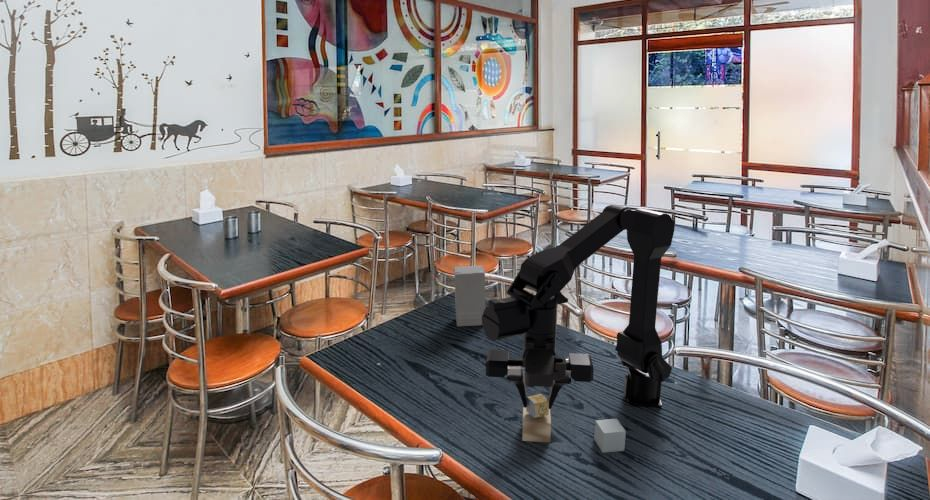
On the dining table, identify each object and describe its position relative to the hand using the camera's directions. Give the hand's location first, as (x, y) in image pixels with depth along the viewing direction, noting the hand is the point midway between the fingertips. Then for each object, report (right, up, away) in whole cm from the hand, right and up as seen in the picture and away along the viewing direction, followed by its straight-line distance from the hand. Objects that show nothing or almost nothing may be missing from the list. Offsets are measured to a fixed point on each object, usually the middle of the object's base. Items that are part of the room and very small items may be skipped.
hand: (537, 407), depth 101 cm
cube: (+13, -6, -2) cm, 14 cm away
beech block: (0, -5, +1) cm, 6 cm away
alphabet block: (0, -1, 0) cm, 1 cm away
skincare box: (-12, +8, +52) cm, 54 cm away
